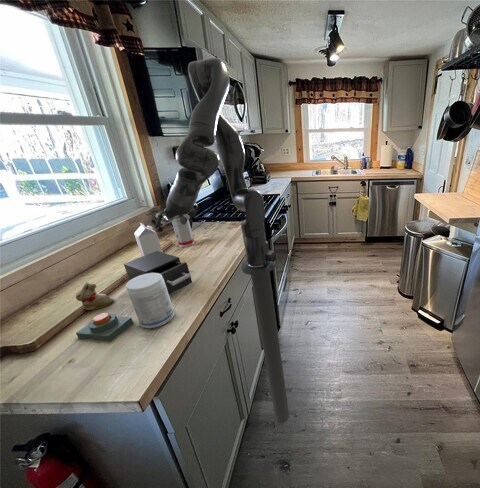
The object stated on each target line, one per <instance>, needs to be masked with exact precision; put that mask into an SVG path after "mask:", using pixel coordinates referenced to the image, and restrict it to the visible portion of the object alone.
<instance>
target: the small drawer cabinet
mask: <svg viewBox="0 0 480 488" xmlns="http://www.w3.org/2000/svg"><path fill="white" fill-rule="evenodd" d="M180 259H181V258H180V256H179V257H178V256H176V255H173V254H169V253H165V252H163V253H162V252H159V251H155V252H153V253H150V254H148V255H145V256H143V257H142V256H141V257H138V258H135V259H132V260H129V261H128V262H125V263H123V267H124V269H125V271H126V274H127V277H128V280H129V281H130V280H131V279H133V278H135V277H137V276H140V275H143V274H148V273H149V272H152V271H154V270H156V269H158V268H161V267H163V266H165V265H167V264H170V263H172V262H174V261H177V262H181V260H180Z"/></svg>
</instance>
